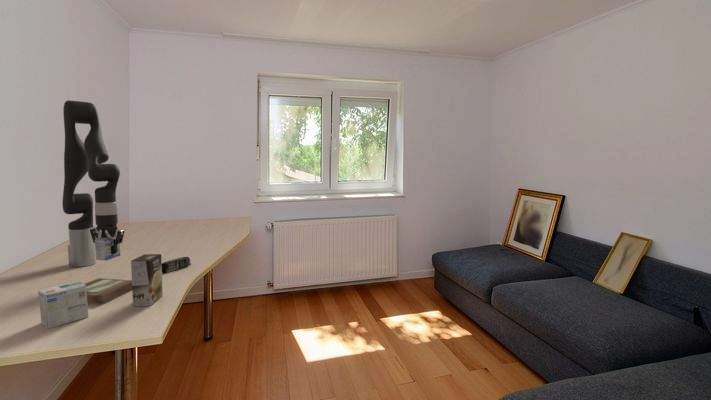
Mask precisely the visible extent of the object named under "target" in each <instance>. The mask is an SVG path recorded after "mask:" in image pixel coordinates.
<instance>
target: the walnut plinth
mask: <svg viewBox="0 0 711 400" xmlns="http://www.w3.org/2000/svg"><path fill="white" fill-rule="evenodd" d="M84 284H85V285H86V292H87V304H95V305H96V304H98V305H105V304H107V303H109V302H111V301H113V300H115V299H117V298H119V297H122V296H124V295H125V294H127V293H129V292H131V291H132V279H130V280H129V279H120V278H119V279H117V278H116V279H115V278H100V277H99V278H98V277H97V278H96V279H92V280H91V281H88V282H85V283H84Z"/></svg>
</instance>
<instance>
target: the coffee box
mask: <svg viewBox="0 0 711 400" xmlns="http://www.w3.org/2000/svg"><path fill="white" fill-rule="evenodd" d="M130 262H131V263H130V264H131V265H130V267H131V280H132V290H131V291H132V293H131V294H132V306H133V307H142V306H143V307H151V306H153V305H154V304H155V303H157V301H159V300H160V299H161V298H163V296H164V294H163V273H162V263H163V262H162V254H159V253H153V254H152V253H150V254H141V255H140V256H138V257H136V258H134V259H132V260H130Z"/></svg>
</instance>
